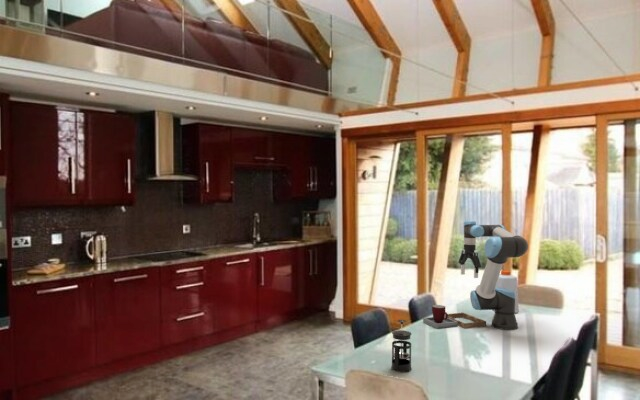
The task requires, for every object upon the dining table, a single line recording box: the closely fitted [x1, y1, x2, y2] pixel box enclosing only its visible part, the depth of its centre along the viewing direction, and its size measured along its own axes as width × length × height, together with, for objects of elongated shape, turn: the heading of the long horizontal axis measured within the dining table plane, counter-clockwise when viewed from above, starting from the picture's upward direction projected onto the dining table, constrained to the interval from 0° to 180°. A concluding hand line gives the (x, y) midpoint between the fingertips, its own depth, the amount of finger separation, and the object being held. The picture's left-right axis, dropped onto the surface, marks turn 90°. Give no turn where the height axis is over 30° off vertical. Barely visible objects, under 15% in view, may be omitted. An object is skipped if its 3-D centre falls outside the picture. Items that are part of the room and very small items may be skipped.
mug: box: [431, 304, 449, 323], centre depth 311 cm, size 10×8×10 cm
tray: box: [422, 316, 459, 330], centre depth 311 cm, size 15×15×3 cm
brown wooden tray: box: [445, 312, 487, 330], centre depth 317 cm, size 23×16×3 cm
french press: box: [390, 318, 413, 373], centre depth 235 cm, size 12×9×23 cm
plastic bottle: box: [493, 270, 520, 315], centre depth 346 cm, size 15×15×28 cm
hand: (469, 276), depth 332 cm, fingers open, 13 cm apart
